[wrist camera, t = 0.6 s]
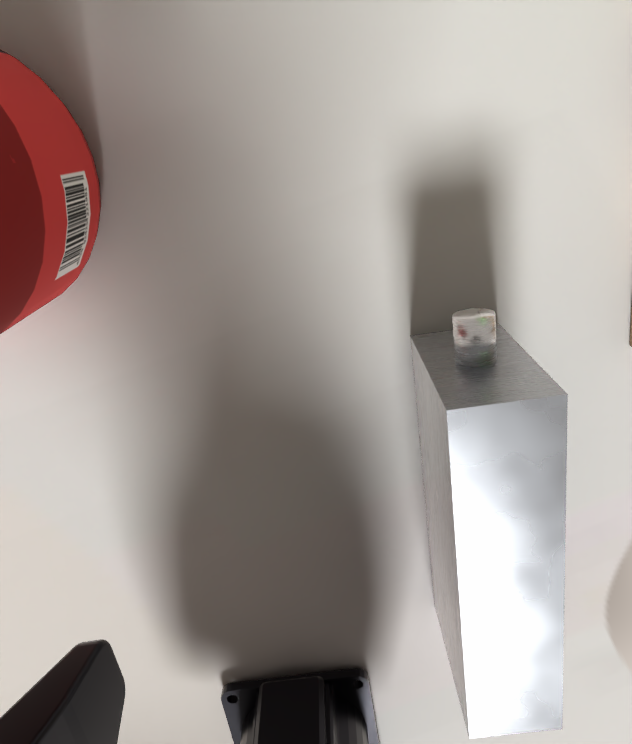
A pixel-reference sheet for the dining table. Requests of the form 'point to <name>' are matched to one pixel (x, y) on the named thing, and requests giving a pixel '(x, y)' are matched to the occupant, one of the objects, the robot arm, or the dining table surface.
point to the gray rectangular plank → (495, 520)
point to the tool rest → (631, 330)
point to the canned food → (41, 194)
